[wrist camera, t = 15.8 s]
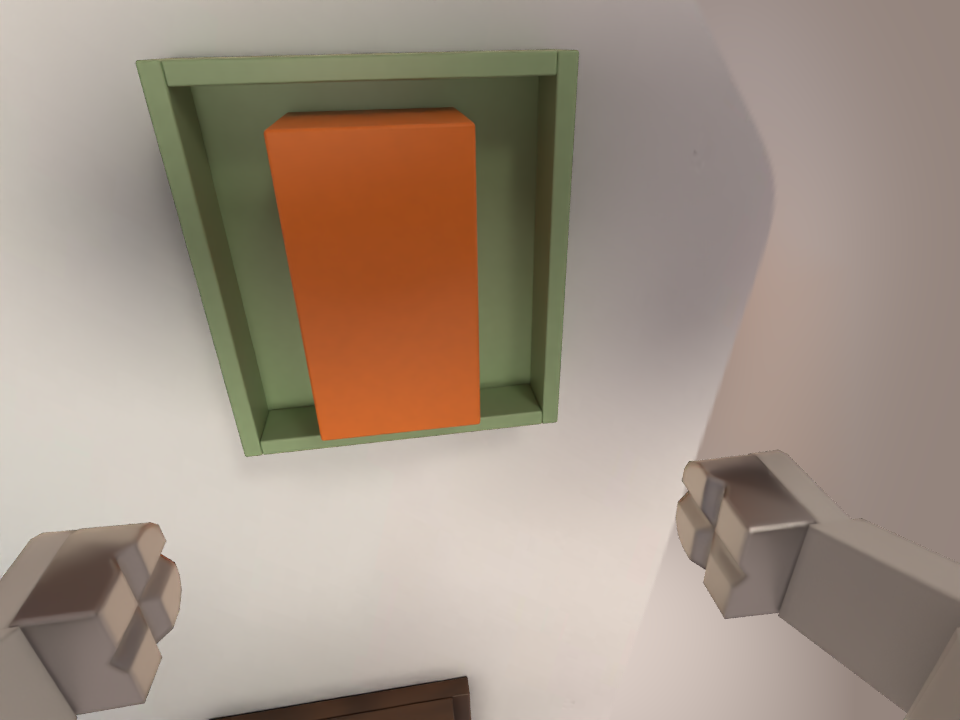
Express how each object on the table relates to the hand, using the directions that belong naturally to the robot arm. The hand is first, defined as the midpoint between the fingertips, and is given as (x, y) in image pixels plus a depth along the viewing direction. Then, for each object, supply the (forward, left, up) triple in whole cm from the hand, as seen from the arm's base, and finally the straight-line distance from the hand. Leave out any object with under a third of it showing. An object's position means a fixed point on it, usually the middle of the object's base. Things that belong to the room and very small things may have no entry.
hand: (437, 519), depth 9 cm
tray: (0, 0, -13) cm, 13 cm away
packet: (+1, 0, -12) cm, 12 cm away
